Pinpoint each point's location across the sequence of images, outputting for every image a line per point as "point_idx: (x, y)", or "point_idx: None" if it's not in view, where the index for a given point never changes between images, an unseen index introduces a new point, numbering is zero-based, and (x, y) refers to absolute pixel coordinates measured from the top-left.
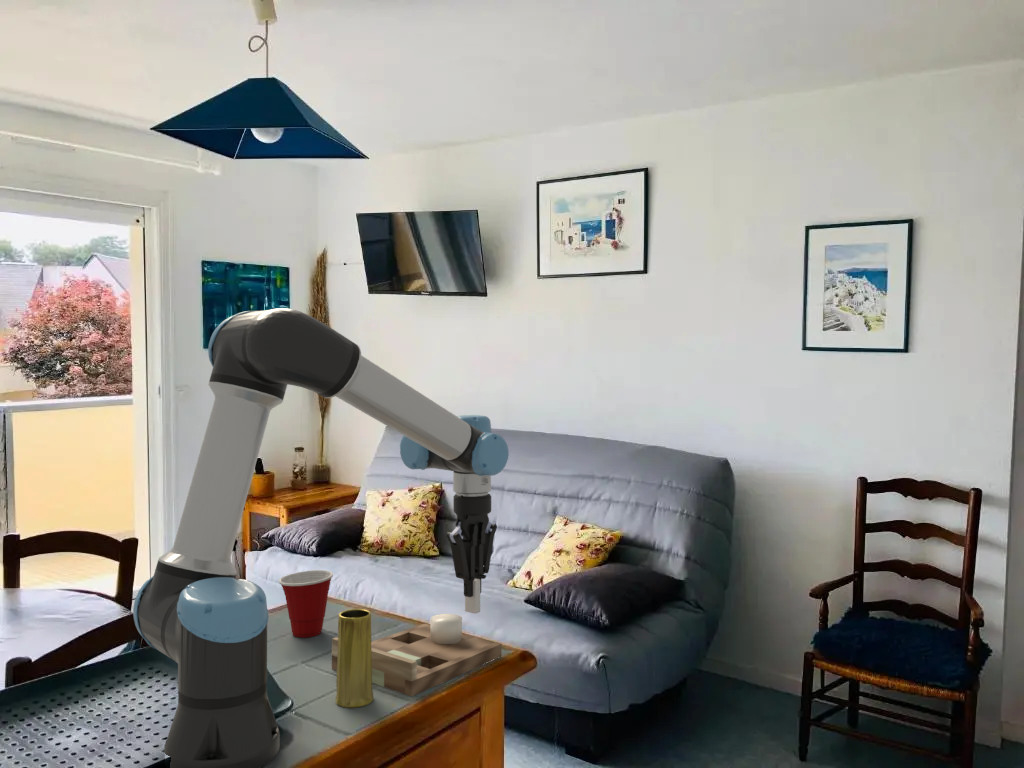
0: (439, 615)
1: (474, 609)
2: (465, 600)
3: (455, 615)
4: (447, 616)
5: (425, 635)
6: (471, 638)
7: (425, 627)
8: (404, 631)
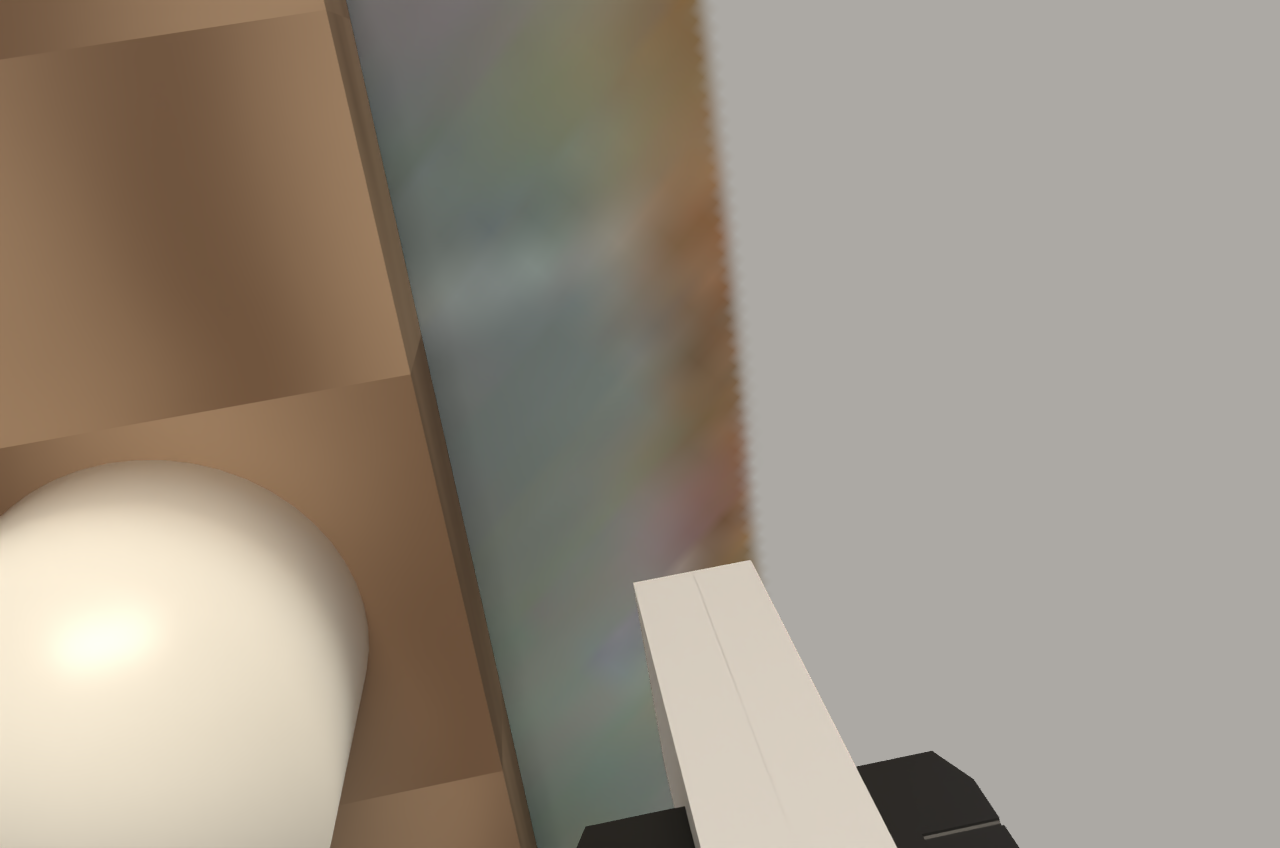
0: (57, 636)
1: (671, 787)
2: (659, 687)
3: (285, 783)
4: (147, 748)
5: (6, 368)
6: (434, 785)
7: (196, 71)
8: None
